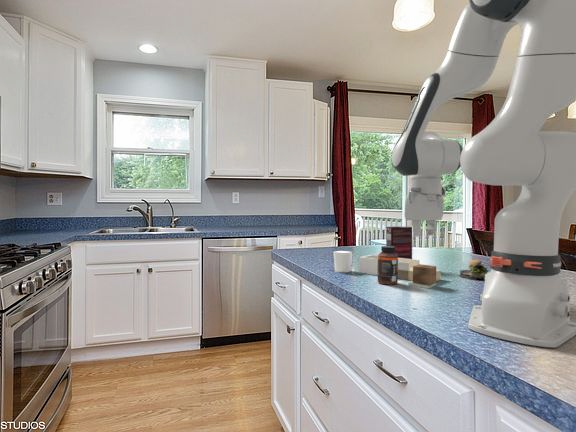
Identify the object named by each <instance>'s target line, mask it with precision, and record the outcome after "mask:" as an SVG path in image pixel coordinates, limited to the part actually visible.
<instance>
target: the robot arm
mask: <svg viewBox="0 0 576 432" xmlns="http://www.w3.org/2000/svg"><path fill="white" fill-rule="evenodd" d="M456 23H457V24H456V25H455V28H454V31H453V33H452V36H451V39H450V41H449V44H448V49H447V51H446V54H445V57H444V59H443V61H442V63H441V64H440V65H439V67H438V69H437V70H436V71H435V72H434V73H432V74H430V75H429V76H428V77H426V79H425V81H424V82H423V85H422V86H421V88H420V90H419V92H418V95H417V98H415V99H416V100H415V102H414V104H413V107H412V109H411V111H410V114H409V116H408V118H407V120H406V123H405V126H404V127H403V130H402V132H401V135H400V137H399V138H398V139H397V142H396V143H395V145H394V146H393V149H392V152H391V164H392V167H393V169H395V171H396V172H397V173H398V174H399V175H401V176H403V177H405V176H406V177H407V176H409V180H408V194H407V195H406V197H405V203H404V204H405V205H404V219H405V220H406V221H411V225H412V226H411V227H412V231H413V236H414V237H422V236H423V229H422V228H421V224H422V221H427V229H426V235H427V236H434V235H435V229H436V225H437V221H441V220H443V216H444V206H445V203H444V202H445V201H444V197H445V196H446V189H445V188H444V186H443V184H442V178H441V175H443V176H445V175H451V174H455V173H457V172H458V171H459V169H461V171H462V173H463V175H464V177H465V178H466V179H467V180H468V181H470V182H473V183H479V184H483V185H488V186H489V185H490V186H521V191H520V194H519V196H518V197H517V199H516V201H514V202H512V203H511V204H509V205H506V206H505V207H503V208H501V209H500V210H499V211H498V212H497V213H496V214H495V218H494V223H493V224H494V231H493V249H492V251H491V253H490V254H491V255H490V258H489V260H490V261H489V268H490V271H488V272H489V273H487V274H486V275H485V279H484V285H483V291H482V293H481V294H480V295H479V297H478V300H479V301H480V302H481V305H473V307H472V309H471V312H470V317H469V320H468V322H467V323H468V325H467V328H468V329H470V330H472V331H473V332H476V333H480V334H482V335H485V336H489V337H493V338H496V339H500V340H501V339H502V340H505V341H510V342H512V343H513V342H514V343H517V344H518V343H519V344H523V345H528V346H529V345H530V346H535V347H536V346H537V347H542V348H552V349H553V348H558V347H560V346H561V345H562V344H564V343H566V342H567V341H569V340H570V339H572V338H573V337H575V336H576V322H574V321H571V319H570V318H571V317H570V310H571V309H570V308H571V305H570V303H571V302H570V298H571V297H570V285H569V284H568V283H567V282H565V280H563V278H561V276H560V273H561V266H562V261H561V255H560V254H559V239H560V230H561V229H560V227H561V220H562V215H563V212H564V209H565V207H566V205H567V203H568V202H569V200H570V198H571V196H572V195H573V193H574V192H575V191H576V132H573V131H559V130H558V131H540V130H541V128H542V127H543V125H544V124H545V123H546V122H547V121H548V119H549V118H550V117H551V116H553V115H554V114H556V113H558V112H560V111H562V110H564V109H566V108H568V107H569V106H571V105H572V104H573V103H574V102H575V101H576V0H468V3H467V4H466V5H465V7H464V8H463V9H462V12H461V14H460V15H459V18H458V21H457V22H456ZM517 25H519V27H520V33H521V35H520V41H519V42H520V43H519V45H518V51H517V55H516V59H515V65H514V68H513V73H512V77H511V80H510V85H509V88H508V92H507V95H506V98H505V100H504V103H503V105H502V107H500V110H499V112H498V113H497V114H496V116H495V117H494V119H492V121H491V122H490V123H489V124H488V125H486V127H485V128H483V129H482V130H481V131H479V132H478V133H477V134H475V135H473V136H472V137H471V138H470V139H469V140H467V142H465V144H464V146H462V145H461V144H460V142H459V141H458V140H454V139H450V138H444V137H441V136H440V134H438V133H436V132H434V131H432V132H431V131H426V129H427V128H428V125H429V123H430V121H431V118H432V116H433V114H434V113H435V111H436V109H438V107H440V106H441V105H442V104H444V103H446V102H448V101H451V100H453V99H455V98H459V97H461V96H465V95H467V94H470V93H472V92H475V91H476V90H478V89H480V88H481V87H482V86H484V85H485V84H486V83H487V82H488V81H489V80H490V78H491V76H492V75H493V73H494V71H495V68H496V66H497V63H498V60H499V57H500V54H501V51H502V48H503V44H504V41H505V39H506V37H507V35H508V33H509V32H510V31H511V30H512V29H513V28H514V27H515V26H517ZM421 229H422V230H421Z"/></svg>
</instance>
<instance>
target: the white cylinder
mask: <svg viewBox="0 0 576 432" xmlns="http://www.w3.org/2000/svg"><path fill="white" fill-rule="evenodd" d="M332 252H333V262H334V263H333V265H334V271H335V272H337V273H351V270H352V262H353V251H350V250H336V251H332Z"/></svg>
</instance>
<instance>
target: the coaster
mask: <svg viewBox="0 0 576 432" xmlns="http://www.w3.org/2000/svg"><path fill="white" fill-rule="evenodd" d="M407 283H408V284H407V285H408V286H409V287H410V286H411V287H417V288H423V289H430V288H433V287H436V285H437V282H436V283H435V284H432V285H430V286H429V285H423V284H416V283H413V281H408V282H407Z"/></svg>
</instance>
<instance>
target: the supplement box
mask: <svg viewBox="0 0 576 432" xmlns="http://www.w3.org/2000/svg"><path fill="white" fill-rule="evenodd" d="M385 230H386V232H385V233H386V234H385V236H386V240H385V241H386V242H385V244H386V245H385V246H394V247H395V253H396V254H397V255H398V258H405V259H413V226H386V229H385Z"/></svg>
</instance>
